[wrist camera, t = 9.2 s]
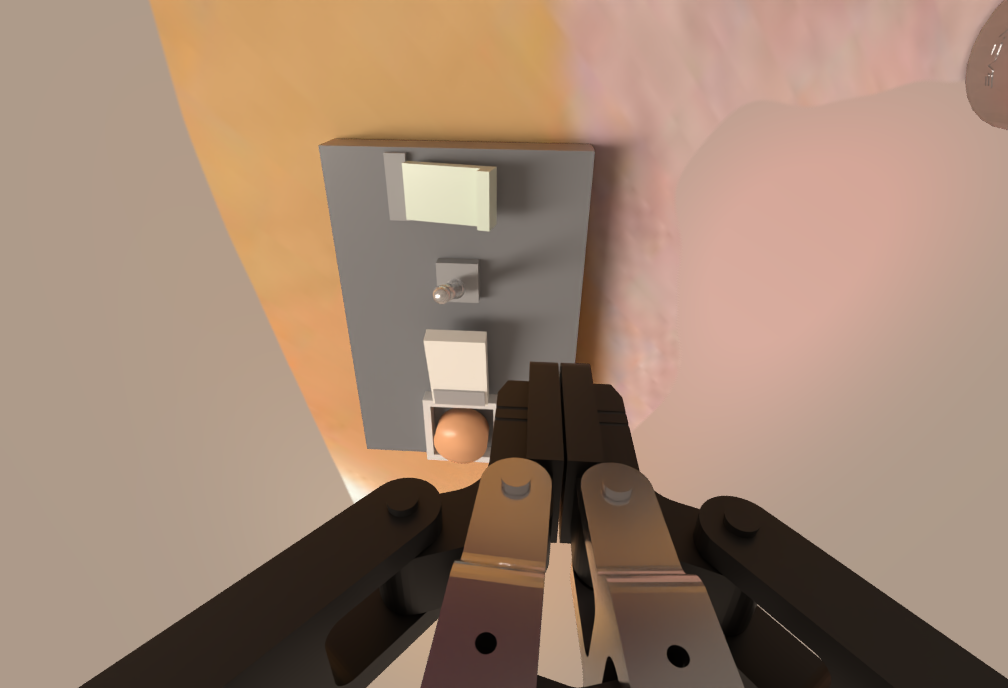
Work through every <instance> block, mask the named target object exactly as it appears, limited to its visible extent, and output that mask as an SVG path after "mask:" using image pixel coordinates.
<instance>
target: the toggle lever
mask: <svg viewBox="0 0 1008 688" xmlns="http://www.w3.org/2000/svg"><path fill="white" fill-rule="evenodd" d="M465 290H466V288H465V285H464V283H463V282H462V281H461V280H459V279H452V280H450V281H449V282H448V283H446V284H443V285H440V286H438V287H436V288H435V289H434V291H433V299H434V300H435V301H436V302H437V303H439V304H445V303H447V302H449V301H451V300H453V299H458V298H461V297H462V296H463V295H464V293H465Z"/></svg>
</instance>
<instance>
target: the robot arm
mask: <svg viewBox="0 0 1008 688" xmlns="http://www.w3.org/2000/svg"><path fill="white" fill-rule="evenodd" d="M965 84H966V92H967V98H968V100H969V102H970V104H971V107H972V109H973V111H974V112H975V113H976V114H977V115H978V116H979V117H980V119H981V120H983V121H985V122H986V123H988V124H990V125H991V126H994V127H998V128H1002V129H1006V130H1008V0H1004V1H1003V2H1002V3H1001V4H1000V5H999V6H998V7H997V8H996V9H995V11H994V12H993V13H992V15H991V16H990V18H989V19H988V21H987V22H986V23H985V25H984V26H983V28H982V29H981V31H980V33H979V35H978V37H977V39H976V41H975V43H974V45H973V48H972V51H971V54H970V57H969V61H968V64H967V71H966V80H965ZM558 522H559V537H560V543H571V551H572V562H571V571H570V581H571V589H572V596H573V603H574V609H575V617H576V625H577V632H578V638H579V646H580V653H581V660H582V669H583V687H581V688H1008V679H1007V678H1005V677H1004V676H1003V675H1001V674H1000V673H998V672H997V671H995V670H994V669H993V668H991V667H990V666H988V665H987V664H985V663H984V662H982V661H981V660H979V659H978V658H977V657H975V656H974V655H972V654H971V653H970V652H968V651H967V650H965V649H964V648H962V647H961V646H959V645H958V644H957V643H955V642H954V641H952V640H951V639H949V638H948V637H947V636H945V635H944V634H942V633H941V632H939V631H938V630H936V629H935V628H934V627H932V626H931V625H929V624H928V623H926V622H925V621H924V620H922V619H920V618H919V617H918V616H916V615H915V614H913V613H912V612H910V611H909V610H908V609H906V608H905V607H903V606H902V605H900V604H899V603H897V602H896V601H895V600H893V599H892V598H890V597H889V596H887V595H886V594H885V593H883V592H882V591H880V590H879V589H877V588H876V587H875V586H873V585H872V584H870V583H869V582H867V581H866V580H865V579H863V578H862V577H860V576H859V575H857V574H856V573H854V572H853V571H852V570H850V569H849V568H847V567H846V566H844V565H843V564H842V563H840V562H839V561H837V560H836V559H834V558H833V557H832V556H830V555H828V554H827V553H826V552H824V551H823V550H821V549H820V548H819V547H817V546H816V545H814V544H813V543H811V542H810V541H809V540H807V539H806V538H804V537H803V536H801V535H800V534H799V533H797V532H796V531H794V530H793V529H791V528H790V527H788V526H787V525H786V524H784V523H783V522H781V521H780V520H778V519H777V518H775V517H774V516H772V515H771V514H770V513H768V512H767V511H765V510H764V509H763V508H761V507H759V506H758V505H756V504H754V503H752V502H750V501H748V500H745V499H742V498H738V497H733V496H718V497H714V498H711V499H709V500H707V501H706V502H705V503H704V504H703V505H702V506H701V508H700V509H697V508H694V507H691V506H687V505H684V504H681V503H678V502H675V501H672V500H669V499H667V498H665V497H663V496H662V495H660V494H658V493H657V492H655V491H654V489H653V487H652V485H651V483H650V481H649V480H648V479H647V478H646V477H645V476H644V475H643V474H642V473H641V472H640V471H639V467H638V463H637V458H636V454H635V450H634V445H633V441H632V437H631V433H630V428H629V427H628V420H627V416H626V414H625V407H624V403H623V399H622V397H621V396H620V394H619V393H618V392H617V391H616V390H615V389H614V388H613V387H612V386H611V385H609V384H593V379H592V373H591V367H590V364H582V363H560V370H559V364H558V363H555V362H532V361H530V366H529V381H515V380H508V381H507V382H506V383H505V384H504V385H503V387H502V388H501V389H500V390H499V391H498V396H497V404H496V412H495V420H494V428H493V436H492V444H491V452H490V460H489V465H488V468H487V469H486V470H485V471H484V472H483V474H482V477H481V478H480V479H479V480H478V481H477V482H475V483H474V484H472V485H470V486H468V487H466V488H463V489H460V490H456V491H451V492H446V493H441V494H439V492H438V491H437V489H436V488H435V487H434V486H433V485H432V484H430V483H428V482H427V481H424V480H421V479H417V478H401V479H396V480H393V481H390V482H387V483H385V484H384V485H382V486H380V487H379V488H377V489H376V490H374V491H373V492H371V493H370V494H368V495H367V496H365V497H364V498H362V499H361V500H359V501H358V502H356V503H355V504H353V505H352V506H350V507H349V508H347V509H346V510H344V511H343V512H341V513H340V514H338V515H337V516H335V517H334V518H332V519H331V520H329V521H328V522H326V523H325V524H323V525H322V526H320V527H319V528H317V529H316V530H314V531H313V532H311V533H310V534H308V535H307V536H305V537H304V538H302V539H301V540H300V541H298V542H296V543H295V544H293V545H292V546H290V547H289V548H287V549H286V550H284V551H283V552H281V553H280V554H278V555H277V556H275V557H274V558H272V559H271V560H269V561H268V562H266V563H265V564H263V565H262V566H260V567H259V568H257V569H256V570H254V571H253V572H251V573H250V574H248V575H247V576H245V577H244V578H242V579H241V580H239V581H238V582H236V583H235V584H233V585H232V586H230V587H229V588H227V589H226V590H224V591H223V592H221V593H220V594H218V595H217V596H215V597H214V598H212V599H211V600H209V601H208V602H206V603H205V604H203V605H202V606H200V607H199V608H197V609H196V610H194V611H193V612H191V613H190V614H188V615H187V616H185V617H184V618H182V619H181V620H179V621H178V622H176V623H175V624H173V625H172V626H170V627H169V628H167V629H166V630H164V631H163V632H161V633H160V634H158V635H157V636H155V637H154V638H152V639H151V640H149V641H148V642H146V643H145V644H143V645H142V646H140V647H139V648H137V649H136V650H134V651H133V652H131V653H130V654H128V655H127V656H125V657H124V658H122V659H121V660H119V661H118V662H116V663H115V664H113V665H112V666H110V667H109V668H107V669H106V670H104V671H103V672H101V673H100V674H98V675H97V676H95V677H94V678H92V679H91V680H89V681H88V682H86V683H85V684H83V685H82V686H80V687H79V688H366V687H367V686H368V685H369V684H370V683H371V682H372V681H373V680H375V678H377V677H378V675H380V674H381V673H382V672H383V671H384V670H385V669H386V668H387V667H388V666H389V665H390V664H391V663H392V662H393V661H394V660H395V659H396V658H397V657H399V655H400V654H402V653H403V652H404V651H405V650H406V649H407V648H408V647H409V646H410V645H411V644H412V643H413V642H414V641H415V640H416V639H417V638H418V637H419V636H420V635H421V634H422V633H424V632H425V630H427V629H428V628H429V627H430V626H431V625H432V624H433V623H434V622H435V621H436V620H437V619H438V622H437V626H436V630H435V634H434V637H433V642H432V645H431V649H430V653H429V657H428V661H427V665H426V668H425V672H424V676H423V680H422V684H421V688H575V687H571V686H567V685H565V684H562V683H559V682H556V681H553V680H550V679H547V678H545V677H542V676H539V675H537V673H538V672H537V671H538V660H539V647H540V632H541V620H542V607H543V594H544V581H545V572H546V570H547V568H548V565H549V555H550V543H556V542H557V532H558ZM757 604H758V605H759V606H760V607H762V608H763V609H764V610H765V611H766V612H767V613H769V614H770V615H771V616H772V617H773V618H775V619H776V620H777V621H778V622H779V623H780V624H782V625H783V626H784V627H785V628H786V629H787V630H789V631H790V632H791V633H792V634H793V635H795V636H796V637H797V638H798V639H799V640H800V641H802V642H803V643H804V644H805V645H807V646H808V647H809V648H810V649H811V650H813V652H815V653H816V654H817V655H818V656H819V657H820V658H821V659H820V658H818V657H817V656H816V655H815V654H813V652H811V651H810V650H809V649H808V648H807V647H805V646H804V645H803V644H802V643H801V642H799V641H798V640H797V639H796V638H795V637H794V636H793V635H791V634H790V633H789V632H788V631H786V630H785V629H784V628H783V627H782V626H781V625H780V624H778V623H777V622H776V621H775V620H774V619H772V618H771V617H770V616H769V615H768V614H767V613H765V612H764V611H763V610H762V609H761V608H760V607H758V606H757Z"/></svg>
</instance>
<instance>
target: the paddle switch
mask: <svg viewBox="0 0 1008 688" xmlns="http://www.w3.org/2000/svg"><path fill="white" fill-rule="evenodd" d="M402 172H403V184H404V196H405V207H406V219H407V220H416V221H426V222H437V223H447V224H458V225H469V226H477V230H479V231H490V230H491V229H492V228H493V227H494V226H495V225H496V224H497V167H492V166H477V165H462V164H447V163H432V162H416V161H406V162H403V163H402Z"/></svg>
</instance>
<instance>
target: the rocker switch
mask: <svg viewBox="0 0 1008 688" xmlns="http://www.w3.org/2000/svg"><path fill="white" fill-rule="evenodd" d="M423 341H424V347H425V354H426V360H427V366H428V372H429V379H430V385H431V391H432V398H433V403H435V404H449V405H470V406H488V400H489V379H488V354H487V332H484V331H459V330H433V329H426V333H425V336H424V340H423Z"/></svg>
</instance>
